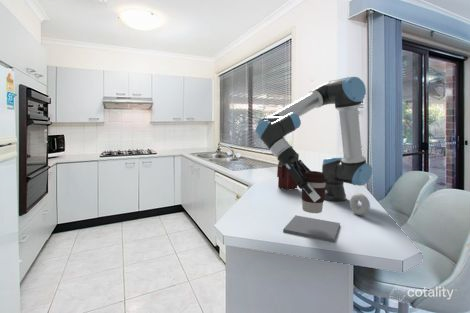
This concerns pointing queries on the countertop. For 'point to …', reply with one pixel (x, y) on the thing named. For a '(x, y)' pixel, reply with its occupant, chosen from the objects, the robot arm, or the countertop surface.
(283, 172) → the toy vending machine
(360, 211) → the donut
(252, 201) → the countertop surface
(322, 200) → the coffee cup
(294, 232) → the mat
